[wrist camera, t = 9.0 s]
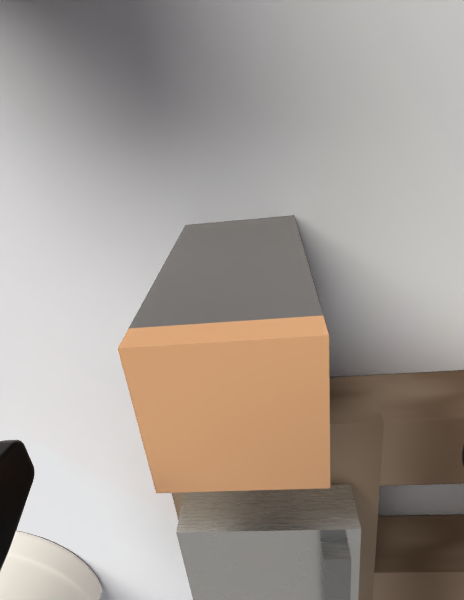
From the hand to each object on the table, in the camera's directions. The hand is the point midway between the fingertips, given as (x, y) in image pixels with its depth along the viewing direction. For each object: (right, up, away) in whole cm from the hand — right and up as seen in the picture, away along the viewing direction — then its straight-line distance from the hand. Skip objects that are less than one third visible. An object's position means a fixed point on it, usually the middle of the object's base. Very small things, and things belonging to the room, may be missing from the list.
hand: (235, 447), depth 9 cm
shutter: (+2, -8, +11) cm, 14 cm away
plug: (0, +4, +9) cm, 10 cm away
